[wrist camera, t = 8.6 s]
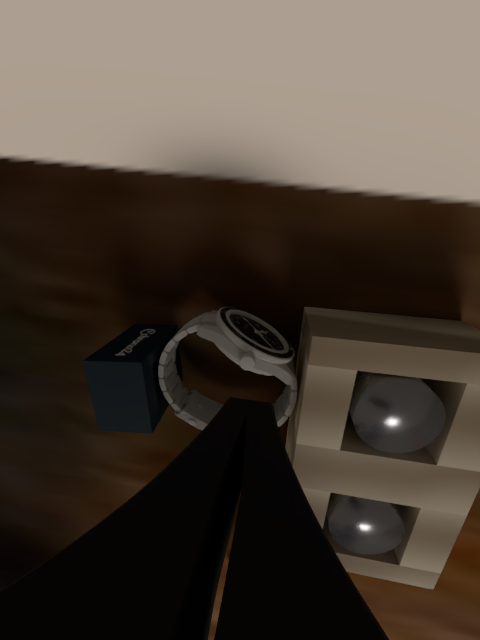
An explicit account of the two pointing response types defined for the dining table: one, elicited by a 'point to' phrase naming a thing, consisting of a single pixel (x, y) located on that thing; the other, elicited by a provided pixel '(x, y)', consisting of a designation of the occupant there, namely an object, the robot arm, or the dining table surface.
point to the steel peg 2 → (364, 524)
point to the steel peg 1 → (395, 412)
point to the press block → (377, 466)
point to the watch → (166, 373)
